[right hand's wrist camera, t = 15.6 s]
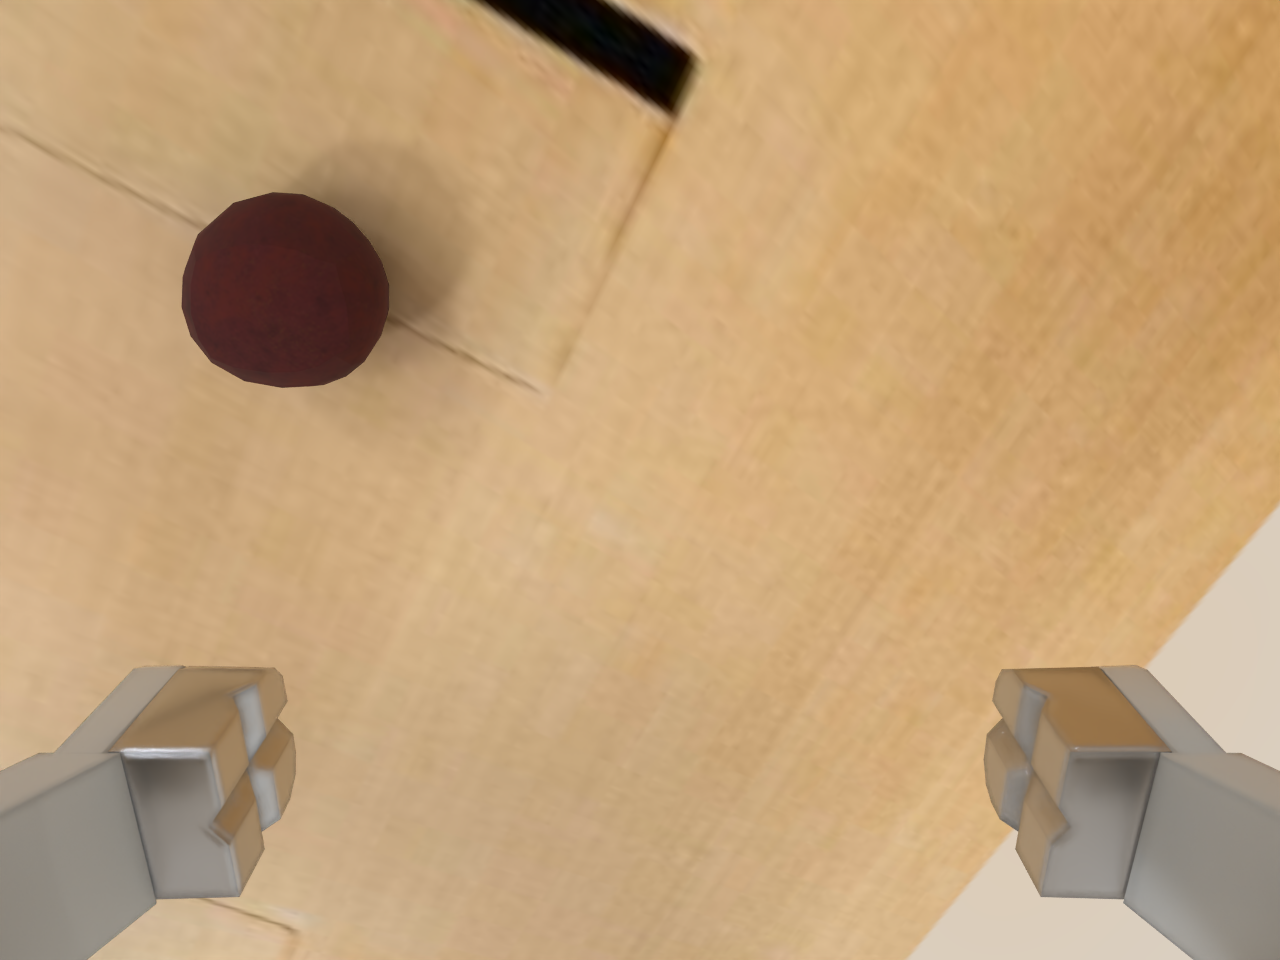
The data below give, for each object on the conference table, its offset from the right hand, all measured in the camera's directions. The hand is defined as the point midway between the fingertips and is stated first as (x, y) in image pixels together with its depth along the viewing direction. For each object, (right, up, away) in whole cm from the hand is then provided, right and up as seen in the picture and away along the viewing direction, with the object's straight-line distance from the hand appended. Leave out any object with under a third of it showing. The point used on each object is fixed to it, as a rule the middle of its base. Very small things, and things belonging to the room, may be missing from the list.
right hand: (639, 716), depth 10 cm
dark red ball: (-14, +11, +28) cm, 34 cm away
